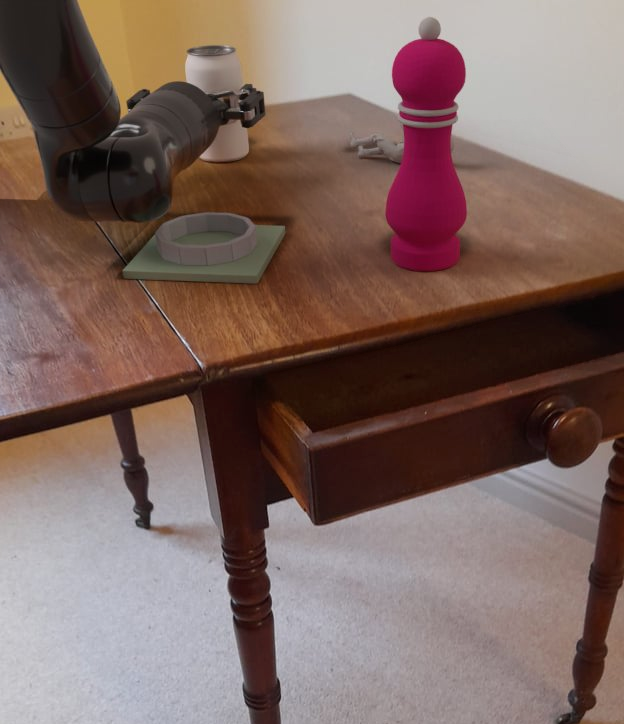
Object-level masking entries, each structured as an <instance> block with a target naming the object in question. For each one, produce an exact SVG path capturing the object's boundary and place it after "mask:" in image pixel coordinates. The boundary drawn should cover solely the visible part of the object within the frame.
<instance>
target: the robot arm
mask: <svg viewBox="0 0 624 724" xmlns="http://www.w3.org/2000/svg"><path fill="white" fill-rule="evenodd" d="M0 73H1V75H2V77H3V78H4V80H5V83H7V85H8V87H9V89H10V91H11V93H12V94H13V96H14V98H15V99H16V101H17V102H18V105H19V107H20V108H21V110H22V111H23V113H24V115H25V116H26V118H27V120H28V122H29V124H30V126H31V130H32V132H33V136H34V140H35V144H36V147H37V151H38V155H39V159H40V163H41V168H42V174H43V175H42V176H43V181H44V186H45V189H46V194H47V196H48V198H49V200H50V202H51V204H53V206H54V207H55V208H56V209H57V210H58V211H59V212H60V213H61V214H63V215H65V216H66V217H68V218H69V219H71V220H74V221H78V222H85V223H132V224H134V223H135V224H138V223H140V224H141V223H149V222H153V221H155V220H158V219H160V218H162V217H163V216H165V215H166V214H168V211H170V208H171V206H172V202H173V198H174V184H175V182H176V181H175V180H176V178H177V177H178V176H179V174H180V173H182V172H183V171H185V170H187V169H188V168H189V167H191V166H192V165H193V164H194V163H195V162H196V161H197V160H198V159H200V158H199V157H200V156H201V155H202V154H203V153H204V152H205V151H206V150H207V149H208V148H209V147H210V146H211V144H212V143H213V142H214V140H215V138H216V135H217V133H218V130H219V127H220V126H223V125H227V124H231V123H235V122H236V121H237V120H240V121H241V124H242V127H244V128H247V129H250V128H253V127H254V126H255V125H256V124H257V123H258V122H260V121H261V120H262V119H263V118H264V117H265V116H266V105H265V104H266V103H265V92H264V91H261V90H257V88H256V87H253V84H252V83H245V84H243V87H242V88H241V89H240V90H239V91H235V92H233V91H232V90H227V89H221V90H217V91H212V92H207V91H202V90H201V89H200V88H198V87H196V86H195V85H193V84H190V83H187V81H181V80H177V81H169V82H167V83H164V84H163V85H160V86H159V87H158V88H156V89H155V90H154V91H152V92H151V90H150V89H147V88H142V89H140V90H138V91H137V92H136V93H134V94H133V95H132V96H131V97H129V98H128V99H127V100H126V107H127V108H126V109H127V113H126V114H125V115H123V116H122V115H121V114H122V109H121V108H122V107H121V103H120V100H119V96H118V93H117V90H116V88H115V85H114V84H113V81H112V78H111V77H110V74H109V72H108V70H107V68H106V65H105V63H104V61H103V59H102V57H101V54H100V52H99V50H98V48H97V45H96V43H95V41H94V38H93V37H92V33H91V32H90V30H89V27H88V25H87V22H86V20H85V17H84V14H83V12H82V10H81V7H80V4H79V1H78V0H0ZM222 97H223V102H222V101H221V100H219V99H217V98H222ZM237 98H239V107H236V106H235V100H236V99H237ZM121 116H122V117H121Z"/></svg>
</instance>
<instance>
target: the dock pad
mask: <svg viewBox="0 0 624 724" xmlns="http://www.w3.org/2000/svg"><path fill="white" fill-rule="evenodd" d="M285 235H286V226H285V225H273V224H271V225H266V224H255V223H254V222H252V220H251V219H250V218H249V217H247V216H243V215H239V214H236V213H233V212H210V211H207V212H200V213H199V212H198V213H192V214H186V215H180V216H178V217H176V218H173V219H170V220H168V221H167V220H166V221H164V222H163V223H162V224H161V225H160V226H159V227H157V229H156V230H155V232H154V234H153V236H152V237H150V239H149V240H148V241H147V242H146V243H145V244H144V245H143V247H142V248H141V249H140V250H139V251H138V252H137V253H136V254H135V256H134V257H133V258H132V259H131V260H130V261H129V262H128V264H127V265H125V267H124V268H123V269H122V277H123V279H124V280H146V281H147V280H149V281H171V282H173V281H175V282H198V283H199V282H201V283H223V284H224V283H225V284H227V283H228V284H229V283H230V284H249V285H250V284H251V285H253V284H254V285H256V284H258V283H259V281H260V280H261V278H262V276H263V274H264V273H265V271H266V269H267V267H268V265H269V264H270V262H271V260H272V259H273V256H274V255H275V253H276V252H277V249H278V247H279V245H280V244H281V243H282V241H283V239H284V237H285Z"/></svg>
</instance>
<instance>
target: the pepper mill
mask: <svg viewBox="0 0 624 724" xmlns="http://www.w3.org/2000/svg"><path fill="white" fill-rule="evenodd" d="M441 32H442V27H441V23H440V22H439V20H438V19H437V18H435V17H432V16H427V17H425V18H423V19H422V20H420V22H419V25H418V35H419V37H420V38H418V39H414V40H411V41H409V42H408V43H406V44H405V45H403V46H402V47H401V49H400V50H398V52H397V54H396V55H395V56H394V57H395V58H394V60H393V63H392V67H391V80H392V86H393V88H394V89H395V91H396V93H397V94H398V95H399V96H400V98H401V101H400V102H399V103H398V105H397V110H398V114H399V116H398V119H397V121H398V122H399V123H402V124H403V129H402V131H403V141H404V152H403V157H402V161H401V163H400V165H399V168H398V170H397V173H396V175H395V177H394V180H393V182H392V184H391V186H390V188H389V191H388V194H387V197H386V201H385V211H384V212H385V213H384V216H385V220H386V222H387V225H388V227H390V229H391V230H392V231H393V232H394V233H395V235H393V236H392V237H391V239H390V259H391V261H392V262H393V264H395V265H397V266H398V267H400V268H403V269H405V270H409V271H415V272H416V271H417V272H434V271H436V272H437V271H442V270H446V269H448V268H451V267H453V266H455V265H456V264H457V263H458V261H459V260H460V254H461V253H460V252H461V240H460V238H459V237H458V236H457V235H456V234H457V233H458V232H459V231H460V230H461V229H462V227H463V226H464V225H465V223H466V220H467V217H468V211H467V209H468V208H467V199H466V196H465V195H466V194H465V191H464V188H463V186H462V183H461V181H460V178H459V176H458V174H457V171H456V168H455V165H454V160H453V155H452V153H451V135H452V131H453V125H454V124H456V123H457V122H458V120H459V116H458V112H457V111H458V110H459V105H458V104H459V103H458V102H456V101H455V100H456V98H457V96H458V95H459V93H460V92H461V91H462V90H463V88H464V86H465V83H466V77H467V71H466V64H465V59H464V56H463V54H462V53H461V51H460V50H459V48H458V47H457V46H455V45H454V44H453V43H451V42H450V41H448V40H445V39H441V38H439V37H440V35H441Z"/></svg>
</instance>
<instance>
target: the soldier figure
mask: <svg viewBox="0 0 624 724" xmlns="http://www.w3.org/2000/svg"><path fill="white" fill-rule="evenodd" d="M398 116H399V112H394V113H393V114H392V117H395V118H396V120H398ZM399 123H400V122H399ZM399 127H400V128H401V129H402V130H403V124H402V123H400V124H399ZM349 140H350V143H349V147H350V149H355V148H357V149H358V152H357V156H358V158H359V159H360V158H363V157H366V156H382V155H384V156H386V157H387V158H388V159H389V160H390V161H392V162H393V163H394V162H395V163H397V164H401V161H402V157H403V152H404V140H401V141H398V142H397V145H396V144H394V142H393V141H392V140H390V139H389V138H387V137H386V136H384V134H380V133H373V134H372V135H369V136H366V137H361V138H356V136H355V132H353V131H350V133H349ZM454 144H455V143H454V138H453V135H452V134H451V154H453V151H454V147H455V145H454ZM373 145H374V146H376V147H373V148H364V147H367V146H373Z"/></svg>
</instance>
